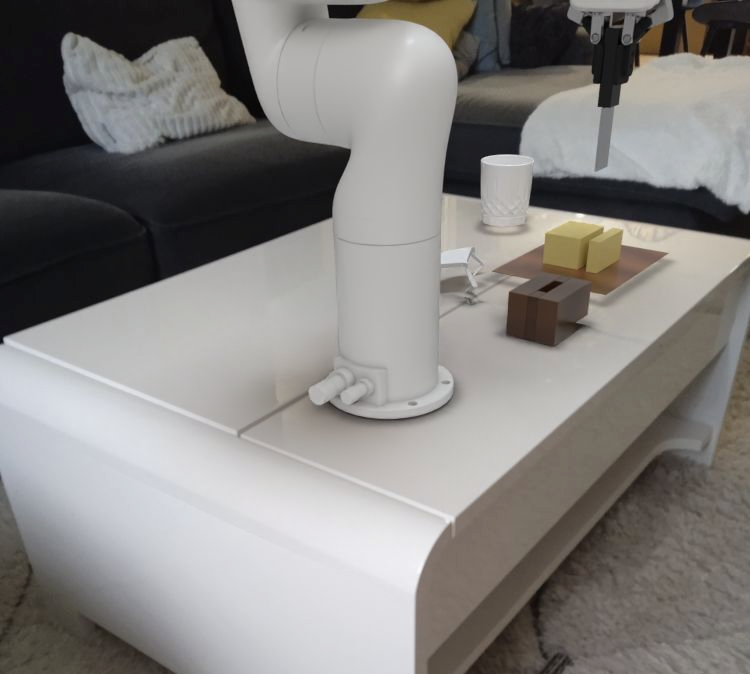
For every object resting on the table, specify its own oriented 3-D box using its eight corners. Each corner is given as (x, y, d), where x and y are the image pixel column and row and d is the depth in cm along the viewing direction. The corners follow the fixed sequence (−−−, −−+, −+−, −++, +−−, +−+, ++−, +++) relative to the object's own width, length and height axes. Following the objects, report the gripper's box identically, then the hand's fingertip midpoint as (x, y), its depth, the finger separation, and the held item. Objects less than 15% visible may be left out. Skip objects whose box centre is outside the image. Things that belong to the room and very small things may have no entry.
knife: (601, 172, 98) (618, 28, 90) (589, 170, 99) (604, 28, 91) (612, 167, 100) (629, 25, 92) (600, 165, 101) (616, 25, 93)
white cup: (527, 221, 131) (532, 154, 125) (530, 235, 124) (536, 165, 119) (477, 221, 132) (480, 154, 126) (477, 235, 125) (481, 165, 120)
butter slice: (596, 273, 105) (600, 242, 103) (585, 271, 106) (589, 240, 104) (619, 259, 110) (623, 229, 108) (608, 257, 111) (612, 227, 109)
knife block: (553, 346, 89) (558, 302, 87) (505, 334, 92) (508, 291, 90) (586, 324, 94) (591, 281, 92) (539, 313, 98) (543, 271, 95)
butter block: (577, 270, 107) (580, 238, 105) (542, 263, 109) (545, 232, 107) (600, 256, 111) (604, 226, 109) (566, 250, 114) (569, 220, 112)
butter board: (604, 304, 100) (605, 294, 99) (490, 280, 108) (491, 270, 107) (667, 261, 113) (669, 252, 112) (561, 242, 121) (562, 234, 120)
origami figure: (466, 315, 98) (468, 274, 95) (403, 304, 101) (403, 264, 98) (503, 284, 107) (505, 246, 104) (444, 275, 110) (444, 238, 107)
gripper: (548, -114, 86) (533, 83, 96) (697, -124, 78) (664, 92, 88) (580, -111, 91) (563, 75, 101) (724, -121, 83) (690, 83, 93)
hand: (610, 82), depth 94 cm, fingers closed on knife, 1 cm apart
